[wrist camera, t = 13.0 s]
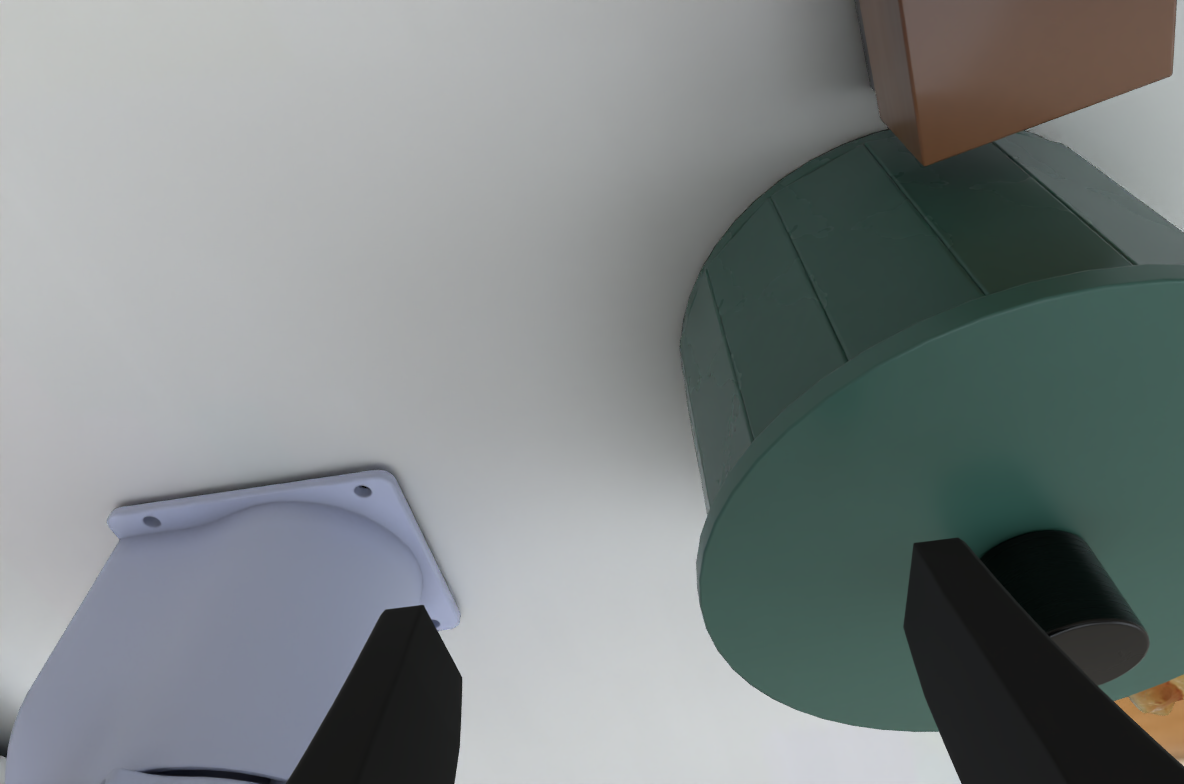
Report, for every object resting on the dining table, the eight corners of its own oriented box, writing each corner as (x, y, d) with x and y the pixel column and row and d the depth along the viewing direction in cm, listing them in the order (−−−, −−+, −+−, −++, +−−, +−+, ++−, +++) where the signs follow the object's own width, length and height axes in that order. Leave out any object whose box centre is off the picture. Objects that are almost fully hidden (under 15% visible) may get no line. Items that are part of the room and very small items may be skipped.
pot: (700, 504, 25) (738, 725, 19) (655, 169, 18) (694, 357, 12) (1070, 454, 24) (1231, 672, 18) (1179, 74, 17) (1504, 231, 11)
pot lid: (716, 714, 20) (736, 843, 18) (655, 315, 12) (675, 446, 10) (1229, 659, 19) (1327, 788, 16) (1522, 175, 11) (1789, 286, 9)
